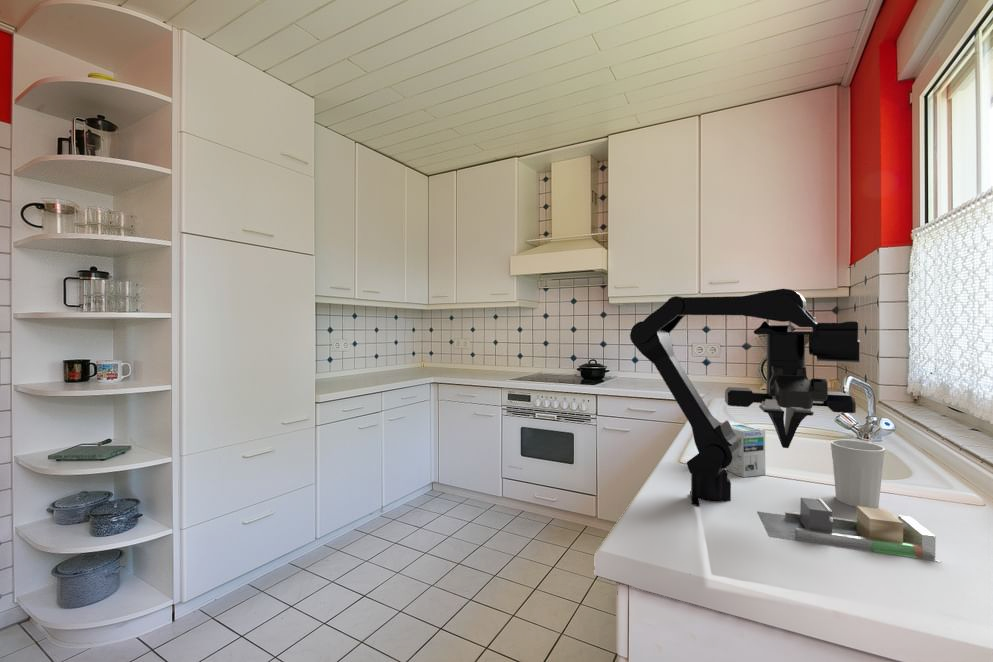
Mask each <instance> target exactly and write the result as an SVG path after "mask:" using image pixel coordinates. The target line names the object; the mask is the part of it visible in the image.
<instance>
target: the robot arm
mask: <svg viewBox="0 0 993 662" xmlns="http://www.w3.org/2000/svg"><path fill="white" fill-rule="evenodd" d="M807 306H808V305H807V300H806V299H805V297H804V296H803V295H802V294H801V293H799V292H797V291H795V290H794V289H791V288H778V289H777V288H776V289H772V290H767V291H761V292H757V293H751V294H748V295H740V296H739V295H738V296H737V295H736V296H735V295H733V296H730V295H729V296H686V297H683V296H679V295H675V296H671V297H670V298H669V299H668V300H667V301H665V303H664V304H662V305H661V306H660V307H658V309H656V310H655V311H653V312H652V313H651V314H649V315H648V316H647V317H646V318H645V319H644V320H643V321H638V322H637V323H635V324H634V325H633V326H632V327H631V330H630V334H629V337H630V338H629V339H630V341H631V343H632V344H633V345H634V346H635V348H636V349H637V350H638V351H639V353H640V354H642V355H643V356H644V357H645V358H646V359H647V360H649V361H650V363H652V364H653V365H654V366H655V368H656V370H657V371H658V372H659V375H660V376H661V378H662V380H663V381H664V383H665V386H666V387H667V388H668V389H669V391H670V393H671V395H672V396H673V398H674V399H675V401H676V403H677V405H678V406H679V408H680V410H681V412H682V413H683V415H684V416H685V418H686V420H687V421H688V423H689V424H690V427H691V429H692V430H691V431H692V435H693V440H694V445H695V446H696V450H697V452H698V453H697V454H696V455H694V456H693V457H692V458H691V459H689V460H688V461H687V462H686V465H687V468H688V470H689V473H690V491H689V496H690V503H691V505H693V506H700V500H702V501H706V502H713V503H714V502H716V503H717V502H731V501H732V498H731V497H732V483H731V479H730V478H728V473H727V472H728V471H727V470H725V468H726V467H727V466H729V465H730V464H731V463H732V462H733V461H734V460H735V459H736V458H737V457H738V455H739V452H740V445H739V443H738V440H739V439H740V438H739V437H738V436H737V435H736V434H735V433H734V432H733V430H732V428H731V425H730V423H729V422H728V421H729V420H724V421H725V422H723V423H722V424H721V423H720V422H721V421H720V420H718V419H717V418H715V416H713V415H712V414H713V413H711V411H710V410H709V408H708V406H707V405H706V403H705V402H704V400H703V398H702V397H701V396H700V394H699V392H698V391H697V389H696V387H695V386H694V384H693V383H692V381H691V379H690V378H689V376H688V374H687V373H686V372H685V370H684V368H683V367H682V365H681V363H680V362H679V360H678V359H677V357H676V355H675V352H674V347H673V341H672V338H671V337H670V333H671V332H672V331H674V330H675V328H676V327H677V326H678V324H680V322H681V320H683V318H684V317H686V316H744V317H752V318H757V319H764V320H767V321H764V320H763V321H762V323H761V325H760V326H759V327H757V328H756V329H754V331H753V334H754V335H766V392H753V390H751V388H749V387H733V386H730V387H729V386H728V387H727V388H726V389H725V390H724V402H725V404H726V405H727V406H729V407H740V408H741V407H742V408H749V407H750V406H751V405H752V404H754V403H756V404H759V406H758V408H759V409H760V410H761V411H763V413H767V414H768V416H769V418H770V420H771V421H772V425H773V427H774V429H775V431H776V434H777V438H778V439H779V442H780V445H781V447H782V448H783V449H789V448H790V446H791V444H792V441H793V438H794V436H795V434H796V431H797V429H798V427H799V425H800V424H801V423H802V421H803V420H804V419H806V417H807V416H814V414H815V412H814V411H812V408H813V407H826V408H827V409H829V410H831V412H833V413H843V414H844V413H845V414H855V413H857V411H856V410H857V409H856V408H857V405H856V404H857V403H856V400H855V398H854V397H853V396H852V395H850V394H847V393H844V392H842V391H830V390H829V391H828V385H829V384H828V381H827V380H826V379H825V378H817V377H816V378H814V377H813V378H810V379H809V378H808V376H807V367H806V335H808V354H809V356H813V357H816V361H817V362H827V363H828V362H829V363H830V362H831V363H856V364H857V363H859V364H860V363H861V340H860V339H859V336H860V335H859V322H858V321H857V320H855V321H850V320H849V321H844V322H819V321H818V320H817V317H815V316H813V315H812V314H811V313H810V311H808V310H807V308H808V307H807ZM768 321H774V322H782V323H783V322H784V323H788V322H790V323H792V324H794V325H796V326H797V327H799V328H812V331H809V330H808V331H792V329H791V326H790V325H788V324H787V325H785V324H782V325H781V324H780V325H778V324H776V325H774V324H773V325H772V324H771V323H770V322H768ZM782 408H784V409H785V410H783V409H782ZM699 499H700V500H699Z"/></svg>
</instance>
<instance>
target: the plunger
mask: <svg viewBox="0 0 993 662" xmlns="http://www.w3.org/2000/svg"><path fill="white" fill-rule="evenodd" d="M799 506H800V512H799V513H800V521H801V523H802V524H803V525H804V527H805V528H806V529H809V530H816V531H823V532H830V533H832V522H833V518H832V517H833V510H832V509H831V508H830V507H829V506H828V505H827V504H826V503H825V502H824V500H823V499H822V498H819V497H818V499H817V498H807V497H806V498H805V497H800V505H799Z"/></svg>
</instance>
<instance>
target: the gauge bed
mask: <svg viewBox="0 0 993 662" xmlns="http://www.w3.org/2000/svg"><path fill="white" fill-rule="evenodd" d="M757 515H758V516H759V519H760V521H761V522H762V525H763V526H764V529H765V531H766V532H767V534H768V537H769V538H774V539H775V538H776V539H783V540H790V541H796V542H803V543H809V544H814V545H815V544H816V545H821V546H829V547H836V548H843V549H849V550H855V551H861V552H868V553H869V552H870V553H876V554H881V555H889V556H896V557H902V558H909V559H914V560H922V561H928V562H936V563H942V561H941V560H940V559H939V558H937V557H936V556H935V557H932V556H925V555H923V547H922V546H921V545H915V544H909V543H908V542H907V541H906V540H905V539H904V538H903V543H901V542H894V541H887V540H880V539H873V538H866V537H862V536H861V535H860V534H859V533H858V531H857V530H856V528H857V519H849V518H842V517H834V516H832V518H833V522H832V533H830V532H823V531H816V530H809V529H806V528H805V527H804V525H803V524H802V523H801V521H800V512H795V511H789V510H784V514H778V513H770V512H764V511H757Z"/></svg>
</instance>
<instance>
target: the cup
mask: <svg viewBox="0 0 993 662" xmlns="http://www.w3.org/2000/svg"><path fill="white" fill-rule="evenodd" d="M830 451H831V457H832V459H831V460H832V468H833V470H832V471H833V480H834V491H835V492H834V493H835V500H836V501H838V502H841V503H842V504H844V505H848V506H851V507H854V508H857V506H860V507H869V508H877V509H879V507H880V505H879V504H880V497H881V490H882V489H881V487H882V478H883V470H884V469H883V468H884V460H885V454H886V453H885V452H886V448H885V447H884V446H882V445H879V444H875V443H872V442H871V443H870V442H866V441H861V440H851V439H834V440H831V441H830Z"/></svg>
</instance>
